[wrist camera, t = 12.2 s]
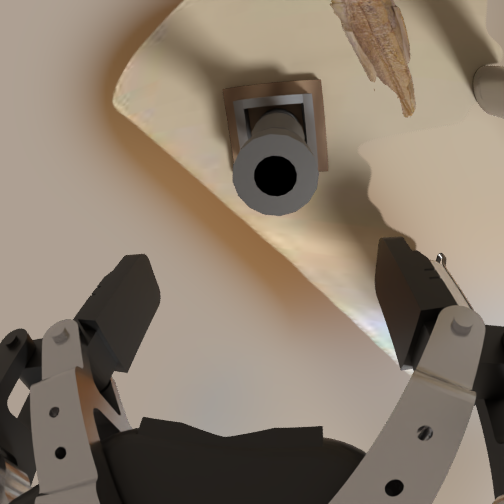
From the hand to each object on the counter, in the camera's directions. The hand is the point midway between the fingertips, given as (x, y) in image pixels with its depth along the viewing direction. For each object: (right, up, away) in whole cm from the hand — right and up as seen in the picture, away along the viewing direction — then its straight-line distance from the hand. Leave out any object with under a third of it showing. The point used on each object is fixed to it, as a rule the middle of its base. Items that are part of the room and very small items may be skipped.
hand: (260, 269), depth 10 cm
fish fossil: (+19, +32, +23) cm, 43 cm away
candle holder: (+4, +18, +30) cm, 36 cm away
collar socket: (+4, +19, +32) cm, 37 cm away
